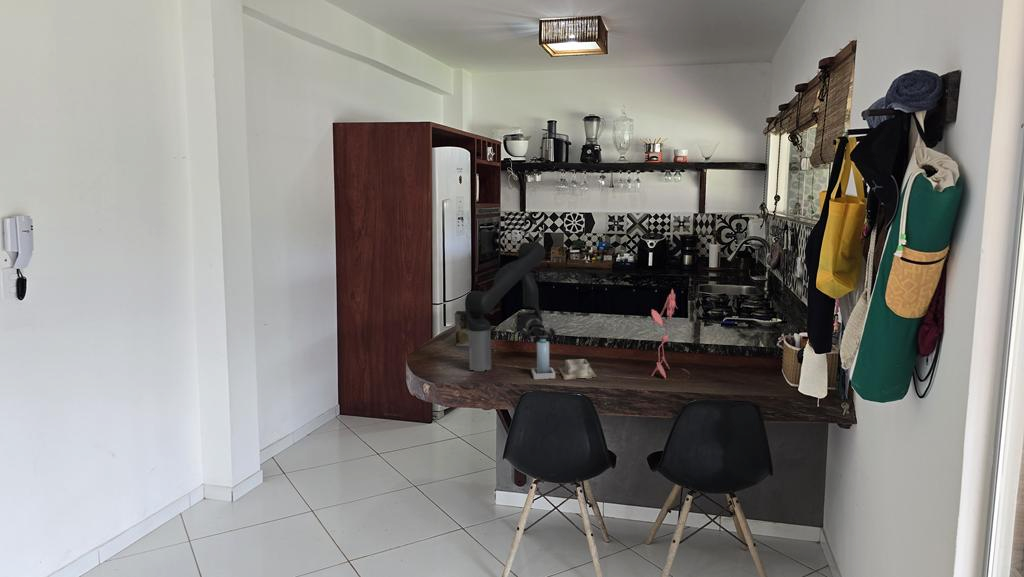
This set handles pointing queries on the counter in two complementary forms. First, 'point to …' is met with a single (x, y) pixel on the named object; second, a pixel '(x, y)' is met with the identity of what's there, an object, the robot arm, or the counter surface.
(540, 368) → the light blue bottle
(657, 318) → the pink branching plant
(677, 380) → the counter surface
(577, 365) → the port
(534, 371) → the white square tray
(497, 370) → the counter surface
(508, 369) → the counter surface
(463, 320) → the coffee box
